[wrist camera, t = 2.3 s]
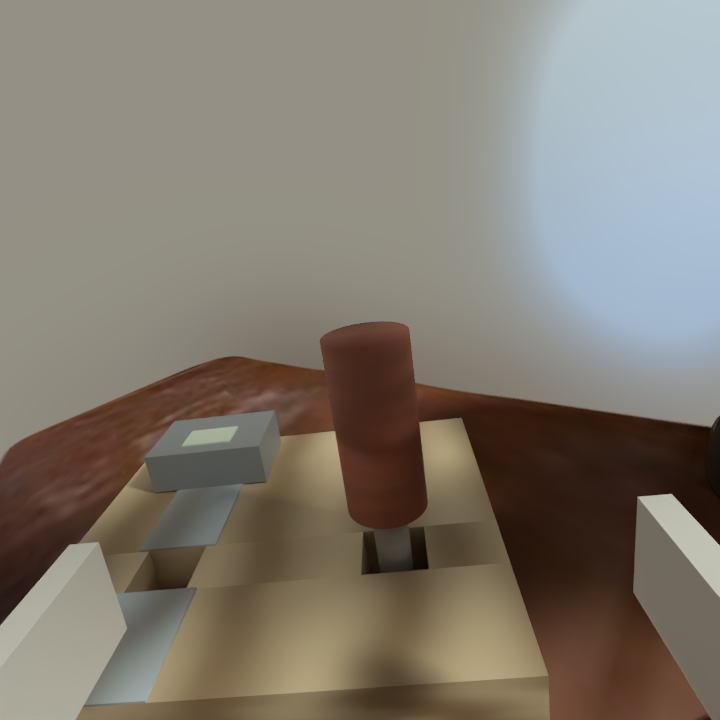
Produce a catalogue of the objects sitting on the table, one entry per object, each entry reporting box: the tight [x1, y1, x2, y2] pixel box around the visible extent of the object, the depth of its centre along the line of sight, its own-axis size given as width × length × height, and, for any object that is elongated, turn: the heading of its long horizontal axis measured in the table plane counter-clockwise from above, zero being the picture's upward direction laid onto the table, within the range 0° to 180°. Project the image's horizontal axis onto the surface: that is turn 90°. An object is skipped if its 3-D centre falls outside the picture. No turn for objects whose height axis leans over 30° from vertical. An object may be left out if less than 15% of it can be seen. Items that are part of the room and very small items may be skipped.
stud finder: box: [144, 410, 281, 493], centre depth 34 cm, size 7×5×2 cm
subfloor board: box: [76, 418, 550, 720], centre depth 28 cm, size 22×20×3 cm
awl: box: [320, 322, 428, 573], centre depth 23 cm, size 4×4×13 cm
